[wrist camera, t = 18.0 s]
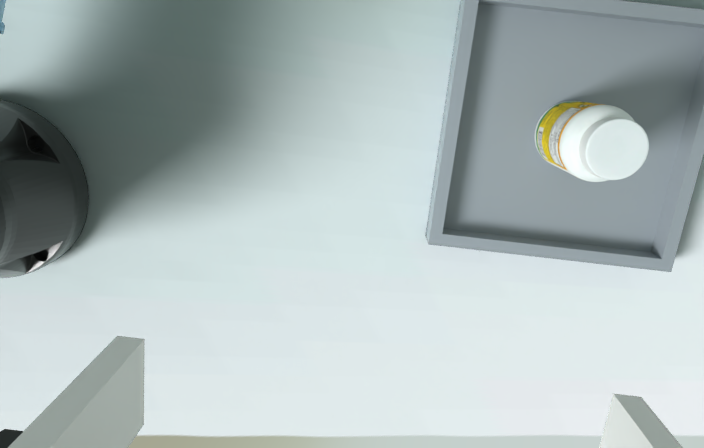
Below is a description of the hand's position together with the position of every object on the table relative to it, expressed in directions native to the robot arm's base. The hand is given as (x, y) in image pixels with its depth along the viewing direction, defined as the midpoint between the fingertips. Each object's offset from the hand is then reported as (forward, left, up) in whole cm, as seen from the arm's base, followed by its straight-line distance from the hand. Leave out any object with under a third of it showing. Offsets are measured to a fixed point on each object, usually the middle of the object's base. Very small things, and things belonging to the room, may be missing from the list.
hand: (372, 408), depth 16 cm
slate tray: (+15, +6, -33) cm, 36 cm away
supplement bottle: (+15, +6, -32) cm, 36 cm away
